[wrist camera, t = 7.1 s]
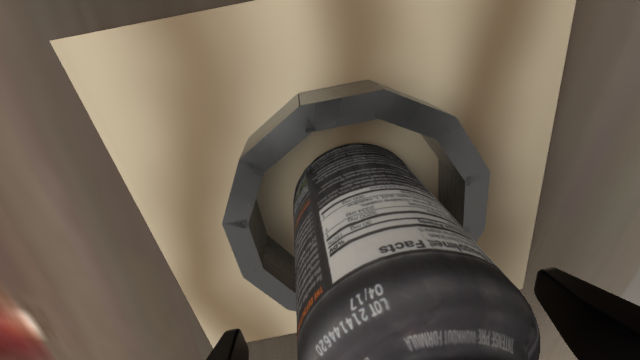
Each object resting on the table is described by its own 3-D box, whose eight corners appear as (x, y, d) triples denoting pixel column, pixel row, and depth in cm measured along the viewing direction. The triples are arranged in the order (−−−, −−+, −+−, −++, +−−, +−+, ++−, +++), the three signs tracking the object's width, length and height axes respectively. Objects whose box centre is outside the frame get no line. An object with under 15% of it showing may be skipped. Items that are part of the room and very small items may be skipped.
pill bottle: (363, 260, 17) (476, 608, 7) (270, 215, 15) (228, 600, 5) (435, 177, 15) (751, 492, 5) (338, 114, 13) (510, 406, 3)
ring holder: (570, -59, 12) (665, -91, 9) (514, 279, 20) (553, 322, 17) (64, 40, 12) (-14, 42, 9) (216, 337, 20) (202, 390, 17)
